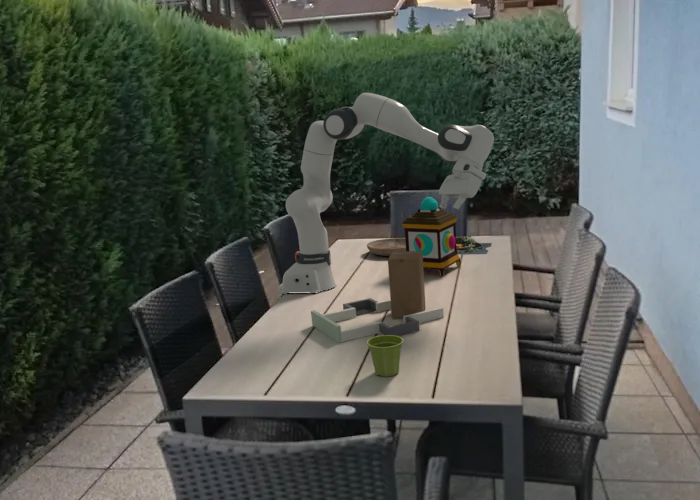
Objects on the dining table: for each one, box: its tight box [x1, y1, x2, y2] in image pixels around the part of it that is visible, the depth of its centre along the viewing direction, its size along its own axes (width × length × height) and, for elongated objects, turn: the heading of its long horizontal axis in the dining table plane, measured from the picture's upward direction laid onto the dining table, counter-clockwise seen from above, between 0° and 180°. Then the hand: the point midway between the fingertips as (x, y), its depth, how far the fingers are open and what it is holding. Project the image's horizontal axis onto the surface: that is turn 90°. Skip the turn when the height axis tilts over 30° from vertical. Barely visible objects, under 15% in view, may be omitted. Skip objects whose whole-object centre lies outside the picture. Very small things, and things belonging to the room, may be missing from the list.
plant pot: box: [366, 334, 404, 378], centre depth 177 cm, size 9×9×9 cm
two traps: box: [342, 297, 420, 337], centre depth 219 cm, size 10×31×3 cm, turn 26°
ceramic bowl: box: [366, 237, 406, 257], centre depth 312 cm, size 23×24×5 cm
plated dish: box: [456, 235, 492, 255], centre depth 310 cm, size 35×28×7 cm
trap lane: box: [310, 299, 445, 344], centre depth 218 cm, size 37×19×5 cm, turn 116°
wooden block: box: [387, 251, 426, 320], centre depth 221 cm, size 10×10×20 cm
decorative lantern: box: [401, 196, 462, 277], centre depth 274 cm, size 20×20×30 cm
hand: (448, 208), depth 229 cm, fingers open, 8 cm apart
